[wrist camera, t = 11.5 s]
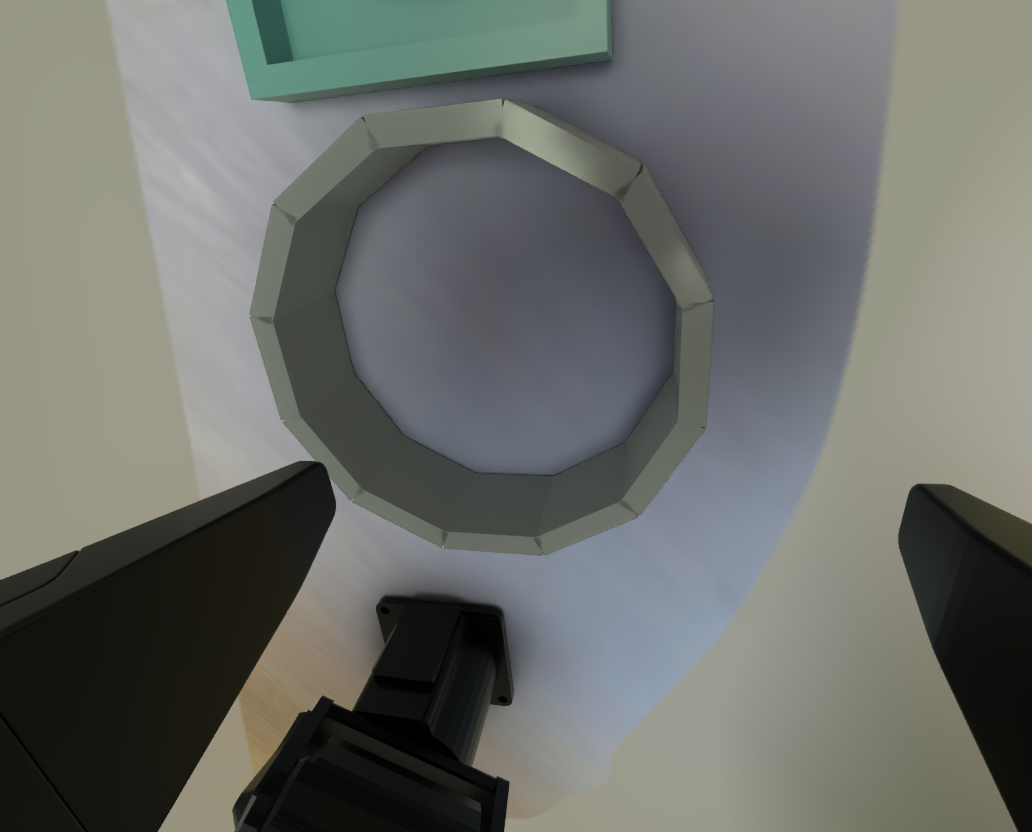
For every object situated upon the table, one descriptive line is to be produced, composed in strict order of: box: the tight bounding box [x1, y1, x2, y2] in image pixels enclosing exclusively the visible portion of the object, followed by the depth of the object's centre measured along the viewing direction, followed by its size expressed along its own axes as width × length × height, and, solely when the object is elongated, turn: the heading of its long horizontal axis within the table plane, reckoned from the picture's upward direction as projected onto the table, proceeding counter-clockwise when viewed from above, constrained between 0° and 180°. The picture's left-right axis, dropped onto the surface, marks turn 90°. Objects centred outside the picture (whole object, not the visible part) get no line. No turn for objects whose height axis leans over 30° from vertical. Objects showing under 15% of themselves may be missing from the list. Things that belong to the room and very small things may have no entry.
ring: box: [250, 99, 714, 556], centre depth 19 cm, size 14×14×4 cm
